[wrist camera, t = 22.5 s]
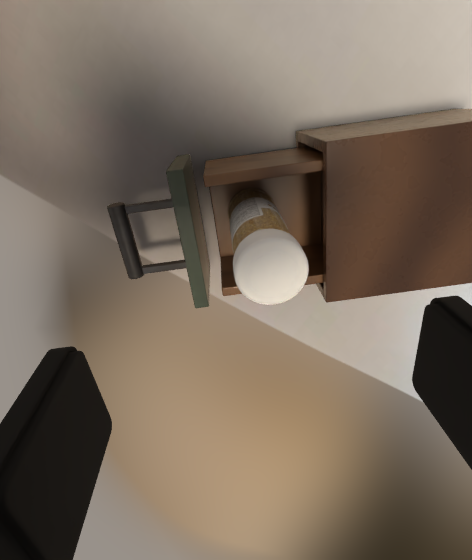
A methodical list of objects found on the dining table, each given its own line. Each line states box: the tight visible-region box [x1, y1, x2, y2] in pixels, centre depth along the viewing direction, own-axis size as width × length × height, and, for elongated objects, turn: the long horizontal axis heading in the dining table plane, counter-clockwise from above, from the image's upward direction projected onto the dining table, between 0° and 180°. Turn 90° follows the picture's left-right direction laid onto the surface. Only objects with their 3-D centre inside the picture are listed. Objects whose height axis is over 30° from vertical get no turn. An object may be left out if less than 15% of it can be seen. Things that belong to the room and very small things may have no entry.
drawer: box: [107, 146, 324, 308], centre depth 30 cm, size 19×11×8 cm, turn 97°
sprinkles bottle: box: [228, 189, 309, 305], centre depth 26 cm, size 5×5×13 cm
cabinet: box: [296, 109, 472, 302], centre depth 29 cm, size 15×13×10 cm
